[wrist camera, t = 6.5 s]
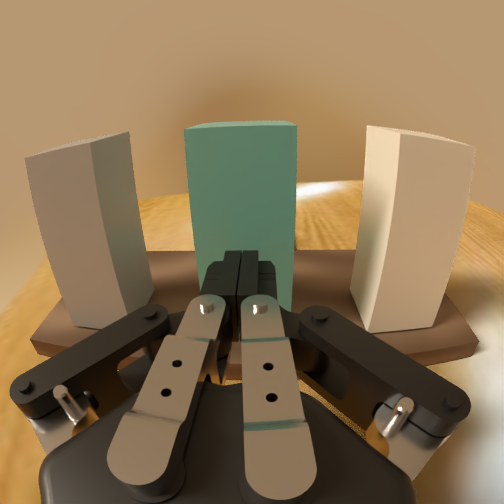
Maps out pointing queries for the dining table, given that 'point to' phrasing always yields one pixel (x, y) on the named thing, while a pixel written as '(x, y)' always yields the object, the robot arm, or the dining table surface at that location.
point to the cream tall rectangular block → (408, 226)
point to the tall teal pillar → (244, 194)
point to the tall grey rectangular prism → (92, 227)
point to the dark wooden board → (303, 295)
